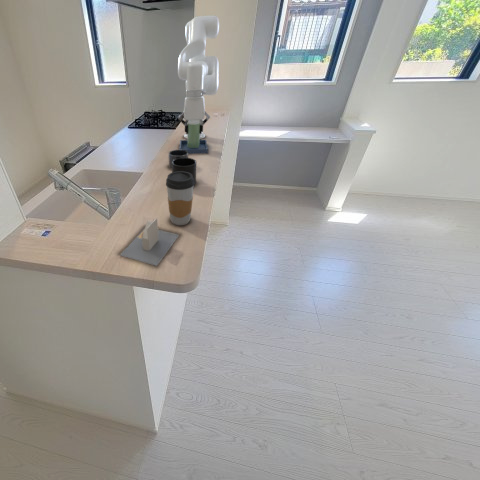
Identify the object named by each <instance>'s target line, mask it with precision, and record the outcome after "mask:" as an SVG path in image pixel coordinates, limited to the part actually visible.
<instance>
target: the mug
mask: <svg viewBox="0 0 480 480" xmlns="http://www.w3.org/2000/svg"><path fill="white" fill-rule="evenodd" d="M177 171H184V172H189V173H191V174H192V175H193V178H194V186H195V185H196V183H197V160H195V159H194V158H191V157H188V158H178V159H175V160H173V161H172V169H171V173H173V172H177Z"/></svg>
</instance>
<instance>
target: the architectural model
mask: <svg viewBox="0 0 480 480" xmlns="http://www.w3.org/2000/svg"><path fill="white" fill-rule="evenodd" d="M179 236H180V234H177V233H174V232H169V231H165V230H161V229H159V226H158V217H156V218H155V219H152V220H146V223H145V227H144V228H143V229H142V230H141V232H139V234H138V235H137V236H136V237H135V238H134V239H133V240H132V241H131V243H130V244H129V245H127V246H126V248H125V249H124V250H122V252H121V253H120V254H119V256H122V257H125V258H128V259H131V260H136V261H138V262H141V263H145V264H149V265H152V266H155V267H157V266H158V265H159V264H160V262H161V261H162V259H164V257H165V255H166V254H167V253H168V252H169V250H170V249H171V247H172V246H173V244H174V243H175V241H176V240H177V239H178V237H179Z"/></svg>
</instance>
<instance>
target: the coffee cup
mask: <svg viewBox="0 0 480 480" xmlns="http://www.w3.org/2000/svg"><path fill="white" fill-rule="evenodd" d="M165 185H166V191H167V202H168V203H167V205H168V210H169V211H168V212H169V220H170V221H171V223H172V224H173V225H175V226H185V225H187V224H189V222H190V221H191V217H192V207H193V200H194V199H193V195H194V187H195V185H194V178H193V175H192V174H191V173H189V172H184V171H177V172H173V173H172V172H170V173H168V175H167V178H166V180H165Z"/></svg>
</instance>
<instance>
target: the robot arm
mask: <svg viewBox="0 0 480 480" xmlns="http://www.w3.org/2000/svg"><path fill="white" fill-rule="evenodd" d="M184 31H185V32H184V33H185V41H186V45H185V46H184V47H183V49H182V50H181V52H180V53H179V57H178V61H177V62H178V63H177V76H178V78H179V80H180V81H185V94H186V97H185V98H184V105H183V112H182V113H181V114H180V115H179V116H178V118H177V119H178V120H179V121H180V123H182V125H183V126H184V134H183V138H184V139H185V140H187V134H188V122H200V140H203V139H204V138H206V134H205V133H204V125H205V124H206V123H207V122H208V121H209V120H210V119H211V116H210V114H208V112H207V111H206V103H205V96H214V95H216V94H217V93H218V90H219V79H220V76H219V74H220V63H219V58H218V57H217V56H215V55H206V46H207V40H208V39H209V40H210V39H216V38H217V37H218V35H219V31H220V20H219V17H218V16H217V15H212V14H211V15H198V16H195V17H193V18H192V19H191V20H189V21H188V22H187V23H186V24H185V30H184Z"/></svg>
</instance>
